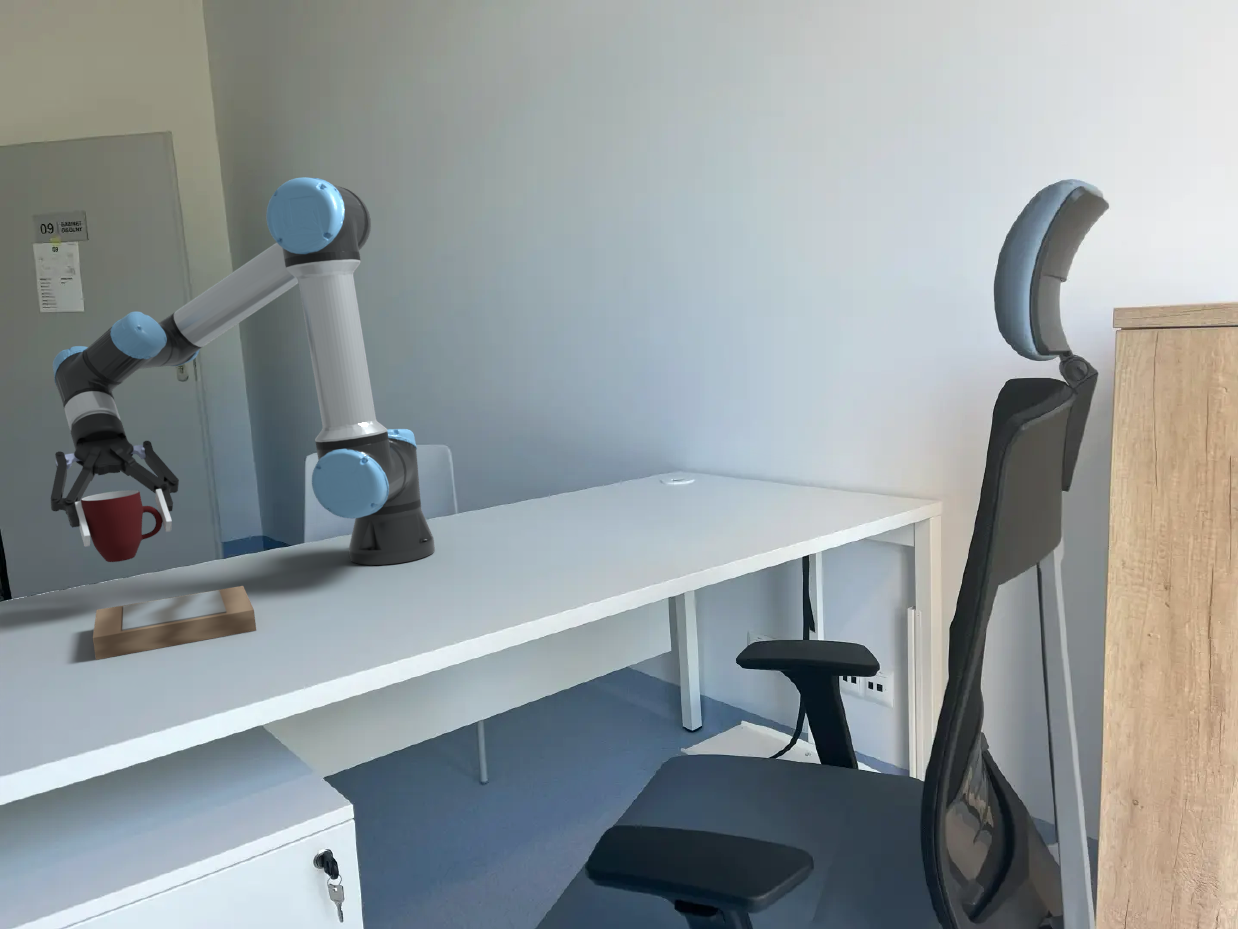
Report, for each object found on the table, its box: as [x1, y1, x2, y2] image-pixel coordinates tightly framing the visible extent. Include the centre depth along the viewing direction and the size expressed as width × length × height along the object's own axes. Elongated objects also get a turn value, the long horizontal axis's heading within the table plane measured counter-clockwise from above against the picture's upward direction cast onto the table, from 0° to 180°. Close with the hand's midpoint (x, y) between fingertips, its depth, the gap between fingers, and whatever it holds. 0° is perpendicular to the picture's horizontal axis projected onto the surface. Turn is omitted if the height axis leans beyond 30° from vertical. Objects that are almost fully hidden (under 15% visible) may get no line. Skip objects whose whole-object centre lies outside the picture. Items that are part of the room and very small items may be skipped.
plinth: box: [92, 585, 257, 661], centre depth 138 cm, size 20×15×3 cm
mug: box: [80, 489, 163, 563], centre depth 149 cm, size 11×8×10 cm
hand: (129, 533), depth 146 cm, fingers closed on mug, 11 cm apart
